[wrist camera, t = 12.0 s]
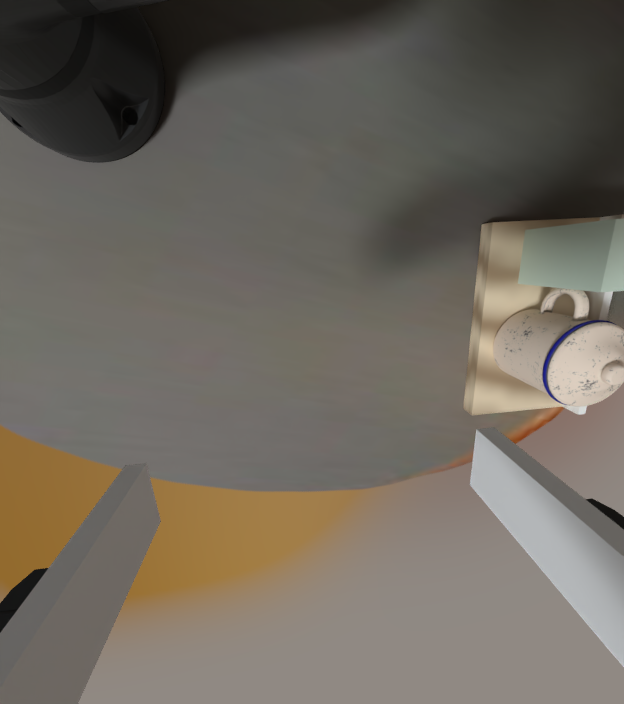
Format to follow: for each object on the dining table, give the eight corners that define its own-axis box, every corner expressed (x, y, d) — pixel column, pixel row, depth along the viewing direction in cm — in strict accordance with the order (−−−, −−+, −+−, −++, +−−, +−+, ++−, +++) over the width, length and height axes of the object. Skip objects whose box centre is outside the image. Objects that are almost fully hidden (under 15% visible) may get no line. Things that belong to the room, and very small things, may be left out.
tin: (525, 229, 35) (616, 218, 26) (575, 227, 36) (683, 215, 26) (517, 283, 37) (600, 292, 27) (565, 280, 37) (663, 288, 28)
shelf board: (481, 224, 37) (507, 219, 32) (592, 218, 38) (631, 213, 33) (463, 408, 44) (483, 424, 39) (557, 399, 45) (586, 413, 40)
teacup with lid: (552, 372, 41) (653, 414, 30) (486, 380, 40) (564, 426, 29) (566, 279, 37) (687, 288, 26) (494, 286, 37) (588, 298, 26)
